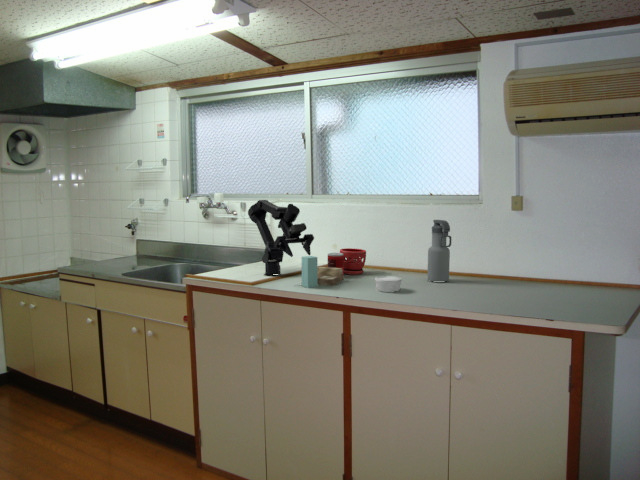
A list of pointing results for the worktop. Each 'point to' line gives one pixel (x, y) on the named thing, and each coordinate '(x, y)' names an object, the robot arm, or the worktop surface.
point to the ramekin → (388, 283)
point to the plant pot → (353, 260)
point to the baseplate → (329, 279)
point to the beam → (329, 271)
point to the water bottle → (439, 252)
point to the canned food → (336, 261)
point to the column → (309, 271)
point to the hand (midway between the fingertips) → (301, 255)
